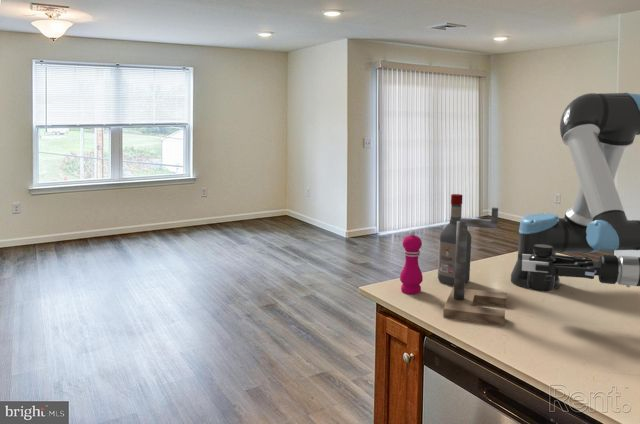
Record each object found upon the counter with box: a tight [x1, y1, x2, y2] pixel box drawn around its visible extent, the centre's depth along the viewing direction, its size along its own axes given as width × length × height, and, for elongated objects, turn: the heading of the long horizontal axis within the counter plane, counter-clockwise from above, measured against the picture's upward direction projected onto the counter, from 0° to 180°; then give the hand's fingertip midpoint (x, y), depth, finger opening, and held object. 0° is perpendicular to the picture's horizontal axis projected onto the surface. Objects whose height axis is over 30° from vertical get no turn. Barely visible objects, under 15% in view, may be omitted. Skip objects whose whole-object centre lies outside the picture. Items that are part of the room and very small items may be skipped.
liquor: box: [437, 193, 472, 287], centre depth 170 cm, size 9×9×30 cm
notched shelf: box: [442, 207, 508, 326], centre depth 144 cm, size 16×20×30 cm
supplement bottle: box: [527, 244, 556, 293], centre depth 137 cm, size 7×7×12 cm
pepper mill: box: [399, 230, 424, 295], centre depth 161 cm, size 7×7×20 cm
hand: (522, 262), depth 139 cm, fingers closed on supplement bottle, 7 cm apart
